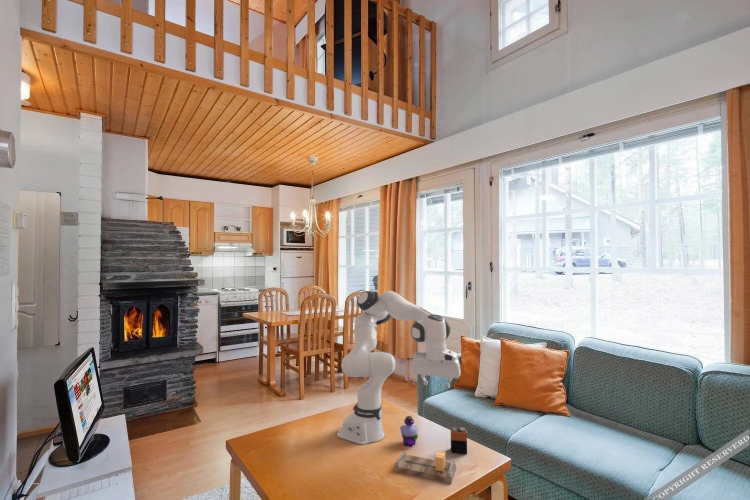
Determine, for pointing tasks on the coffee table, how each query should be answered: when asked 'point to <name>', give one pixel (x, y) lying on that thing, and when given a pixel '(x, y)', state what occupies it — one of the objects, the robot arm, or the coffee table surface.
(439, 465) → the fader knob
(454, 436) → the battery
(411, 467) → the fader board
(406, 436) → the potion bottle
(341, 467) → the coffee table surface
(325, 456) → the coffee table surface
